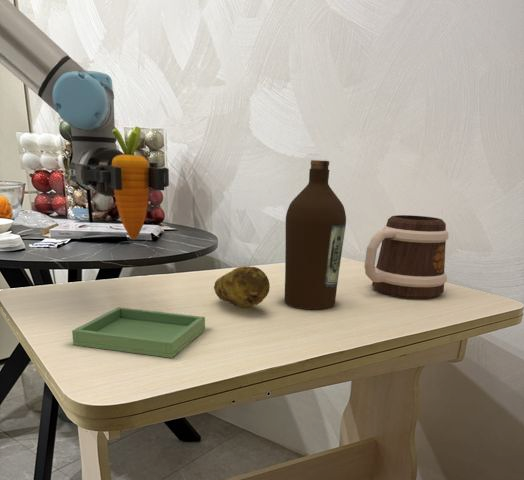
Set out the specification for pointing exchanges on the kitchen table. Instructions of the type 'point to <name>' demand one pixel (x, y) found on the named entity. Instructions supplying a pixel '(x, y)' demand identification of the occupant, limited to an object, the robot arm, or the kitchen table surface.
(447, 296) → the kitchen table surface
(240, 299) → the potato
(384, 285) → the mug
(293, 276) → the olive oil
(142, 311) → the green tray
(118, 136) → the carrot
